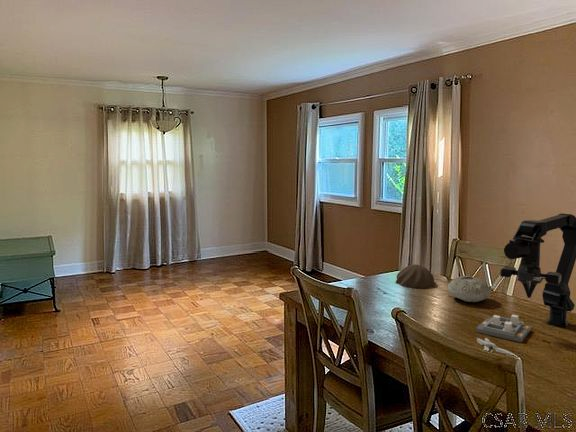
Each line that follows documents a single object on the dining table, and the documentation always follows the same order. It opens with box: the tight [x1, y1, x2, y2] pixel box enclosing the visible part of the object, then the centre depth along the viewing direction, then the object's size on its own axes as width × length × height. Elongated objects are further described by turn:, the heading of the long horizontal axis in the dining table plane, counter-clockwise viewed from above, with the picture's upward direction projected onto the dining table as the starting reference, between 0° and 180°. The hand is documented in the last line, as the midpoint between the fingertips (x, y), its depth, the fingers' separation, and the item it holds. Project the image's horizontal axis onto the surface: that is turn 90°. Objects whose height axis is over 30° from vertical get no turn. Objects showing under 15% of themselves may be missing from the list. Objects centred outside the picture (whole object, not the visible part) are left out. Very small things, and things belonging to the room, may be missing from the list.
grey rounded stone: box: [447, 275, 491, 303], centre depth 196 cm, size 18×18×10 cm
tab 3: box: [510, 314, 520, 325], centre depth 161 cm, size 3×3×4 cm
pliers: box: [476, 337, 519, 357], centre depth 144 cm, size 10×2×15 cm
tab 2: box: [503, 321, 514, 332], centre depth 154 cm, size 3×3×4 cm
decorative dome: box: [395, 264, 435, 289], centre depth 224 cm, size 19×20×10 cm
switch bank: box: [475, 316, 532, 343], centre depth 159 cm, size 14×15×3 cm
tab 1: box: [491, 314, 502, 325], centre depth 161 cm, size 3×3×4 cm
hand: (529, 297), depth 158 cm, fingers closed
